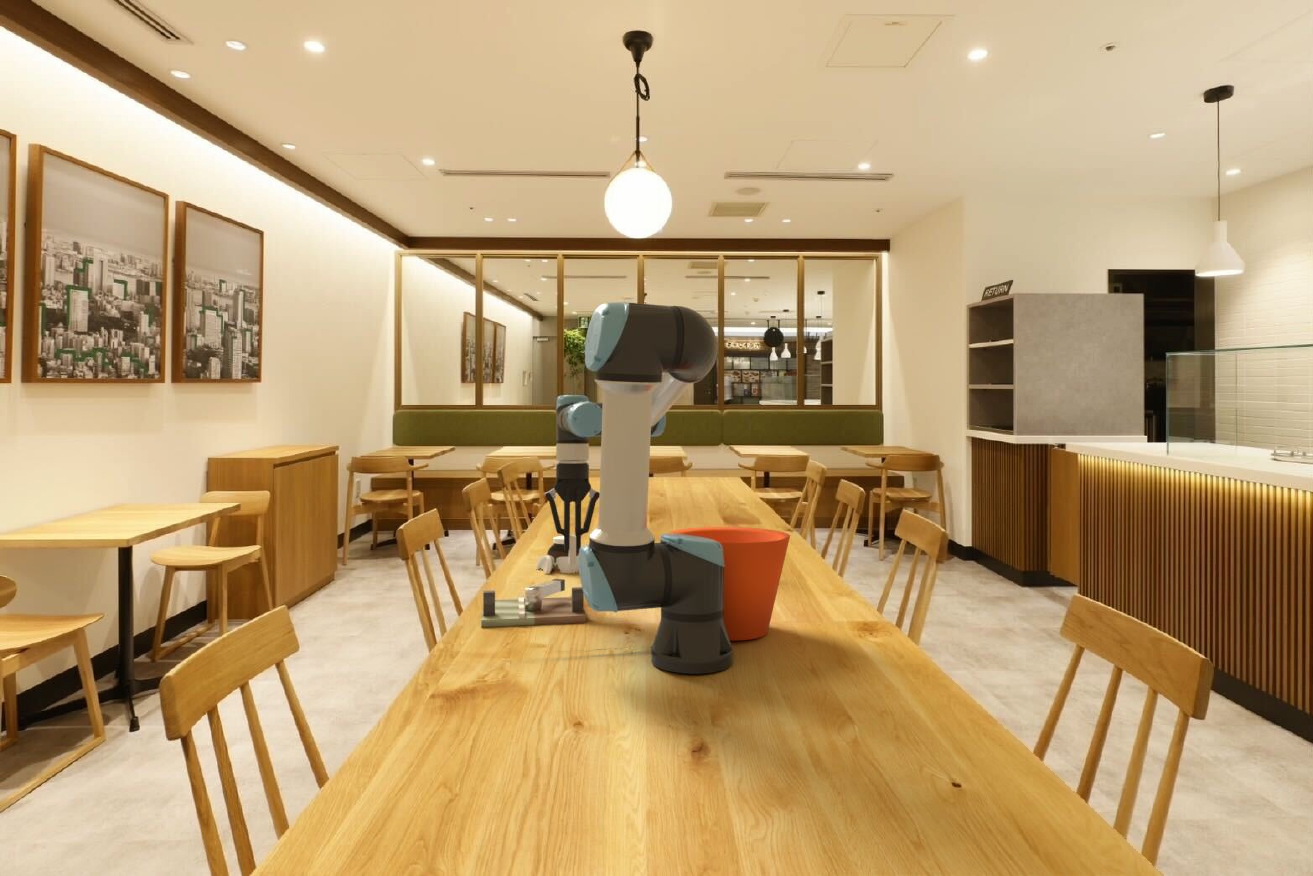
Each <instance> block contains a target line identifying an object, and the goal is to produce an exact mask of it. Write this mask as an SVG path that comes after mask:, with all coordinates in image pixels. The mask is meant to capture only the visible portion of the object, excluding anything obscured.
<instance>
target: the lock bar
mask: <svg viewBox="0 0 1313 876" xmlns="http://www.w3.org/2000/svg"><path fill="white" fill-rule="evenodd" d="M565 586H566V580H565V579H564V578H554V579H551V580H548V581H546V582H542V583H539V584H537V585H532V586H527V587H525V589H524V593H525V594H524V595H525V596H524V599H525V609H526V610H529V611H536V610H541V609H542V598H547V597H549V596H552V595H555V594H558V593H560V592H564V591H565V590H566V587H565Z"/></svg>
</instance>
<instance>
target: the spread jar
mask: <svg viewBox="0 0 1313 876" xmlns="http://www.w3.org/2000/svg"><path fill="white" fill-rule="evenodd" d="M552 541H553V544H552V545H551V546H550V547H549V548H548V550H547V553H546V555H543V556H540V558H539V559H538V561H537V563H536V566H535V570H536V569H537V570H541V569H543V570H545V571H546V572H545V571H544V575H549V574H551V572H553V571H556V572H555V573H559V572H561V573H562V574H574V573H575V572H576V573H579V565H578V555H579V550H576V565H569V550H565V548H564V535H560V536H554V537H553V538H552ZM540 568H541V569H540ZM543 570H542V571H543ZM561 573H560V574H561Z"/></svg>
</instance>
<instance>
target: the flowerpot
mask: <svg viewBox="0 0 1313 876" xmlns="http://www.w3.org/2000/svg"><path fill="white" fill-rule="evenodd" d="M668 534H683V535H691V536H698V537H704V538H709V539H713V540H715V541H718V542H719V543H720V544H721V545H722V547H723V556H724V564H725V567H724V623H725V626H726V629H727V632H728V636H729V639H730V641H748V640H754V639H759V638H762V637H764V636H766V635H767V634H768V632H769V628H770V624H771V619H772V616H773V612H774V611H773V610H774V608H775V607H774V606H775V602H776V598H777V594H778V590H779V585H780V581H781V575H782V573H783V567H784V563H785V559H786V555H787V552H788V551H787V550H788V546H789V542H790V538H791V535H790V534H789V533H786V532H784V531H780V530H775V529H768V528H767V529H766V528H757V527H741V526H737V527H736V526H709V527H708V526H707V527H705V526H704V527H690V528H682V529H675V530H672V531H670V532H669V533H668Z"/></svg>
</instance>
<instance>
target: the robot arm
mask: <svg viewBox="0 0 1313 876" xmlns="http://www.w3.org/2000/svg"><path fill="white" fill-rule="evenodd" d="M586 331H587V333H586V335H585V336H586V338H585V344H584V362H585V367H586V369H588V370H589V371H590V372H594V382H595V383H596V384H597V386H598V387H599V388H601V390H602V402H593V401H590V400H589V397H588V396H586V395H581V394H579V395H578V394H569V395H568V394H564V395H559V396H557V398H556V407H555V414H556V420H555V421H556V430H555V431H556V447H555V449H556V451H555V453H556V454H555V456H556V458H555V459H556V461H558V462H557V463H556V467H555V470H556V471H555V475H556V476H555V477H556V478H555V484H554V485H553V488H551V489H550V490H549V491H546V492H545V493H544V496H545V498H546V499H547V501H548V502H549V507H550V511H551V516H552V519H553V524H554V528H555V531H556V533H557V534H560V535H561V536H564V548H565V550H569V565H576V550H579V555H578V565H579V572H578V574H579V579H580V584H581V585H580V586H581V587H582V589H583V593H584V599H585V602H586V603H587V604H588V607H589V608H590V609H591V610H593V611H594V612H598V613H599V612H614V613H617V612H624V611H636V610H637V611H638V610H647V609H658V608H660V622H659V624H658V628H657V631H656V633H655V636H654V640H653V643H652V646H651V651H650V653H651V656H650V659H651V660H650V661H651V663H652V665H654V666H655V667H657V668H658V669H661V670H664V671H668V672H672V673H680V674H709V673H716V672H719V671H720V672H721V671H724V670H726V669H729V668H730V667H731V666H732V665H733V664H734V648H733V645H732V642H731V640H730V639H729V636H728V632H727V629H726V626H725V623H724V567H725V564H724V556H723V547H722V545H721V544H720V543H719V542H718V541H715V540H713V539H709V538H704V537H698V536H691V535H683V534H669V533H663V534H661V537H660V538H659V542H656V541H655V540H656V539H655V538H656V537H655V535H654V533H653V532H652V531H651V530H650V529H649V528H648V526H647V525H648V524H647V523H648V502H649V501H648V500H649V482H650V481H649V479H650V461H651V459H650V457H651V455H650V454H651V438H652V437H660V436H661V435H663V433H664V432H665V428H666V424H667V412H668V411H669V410H670V409H671V408H672V406H673V405H674V404H676V402H677V401H678V399H680V398H681V396H682V395H683V394H684V393H685V392H686V390H687V389H688V388H689V387H690V386H691V385H692V384H695V383H696V384H697V383H698V382H700V381H702V380H703V379H704V378H706V376H707V375H708V374H709V372H710V371H711V370H712V368H714V365H715V363H716V360H717V357H718V348H719V347H718V340H717V336H716V333H715V330H714V328H713V327H712V325H711V324H710V323H709V322H708V319H706V318H705V317H704V316H703V315H702V314H700V313H699V312H697V311H696V310H694V309H691V308H690V307H686V306H680V305H665V304H664V305H661V304H649V303H648V304H647V303H638V302H627V301H622V302H604V303H602V304H600V305H599V306H598V307H596V308H595V310H594V312H593V314H592V316H591V319H590V321H589V324H588V328H587V330H586ZM597 437H598V438H599V437H600V438H601V439H600V440H601V442H600V443H601V444H600V445H601V446H600V467H599V468H600V471H599V491H596V490H595V489H593V488H592V485H591V483H590V465H589V463H588V462H587V461H589V460H590V440H589V439H590V438H597ZM588 493H589V494H588ZM556 495H558V496H559V498H560V499H561V500H562V501H563V528H562V525H561V522H560V517H559V513H558V508H557V504H556V501H555V499H556ZM587 495H588V497H589V498H590V499H589V501H588V505H587V509H586V510H587V511H586V513H585V517H584V522H583V527H582V502H583V500H584V499H585V498H586V497H587ZM598 500H599V501H598ZM597 501H598V525H597V526H596V527H595V528H594V529H593V530H592V531H591V532H590V528H591V523H592V519H593V515H594V512H595V511H594V510H595V506H596V502H597ZM572 502H574V534H571V520H570V519H571V503H572ZM589 532H590V533H589ZM588 533H589V537H588V538H589V539H588V540H589V541H588V543H589V544H588V545H587V544H584V546H582V536H583V535H585V534H588Z"/></svg>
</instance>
